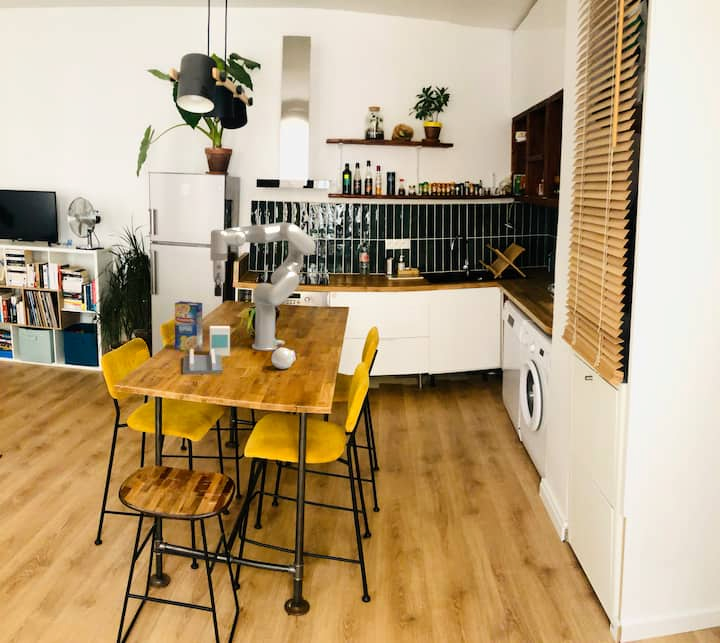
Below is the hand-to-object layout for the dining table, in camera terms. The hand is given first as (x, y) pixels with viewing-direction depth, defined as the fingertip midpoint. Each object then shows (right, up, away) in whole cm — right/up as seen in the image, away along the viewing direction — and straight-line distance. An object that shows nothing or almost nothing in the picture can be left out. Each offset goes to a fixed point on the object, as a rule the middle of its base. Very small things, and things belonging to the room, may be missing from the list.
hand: (218, 294), depth 325 cm
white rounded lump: (+32, -33, -13) cm, 47 cm away
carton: (0, -28, +4) cm, 28 cm away
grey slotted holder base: (-3, -32, -17) cm, 36 cm away
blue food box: (-16, -25, +12) cm, 33 cm away
